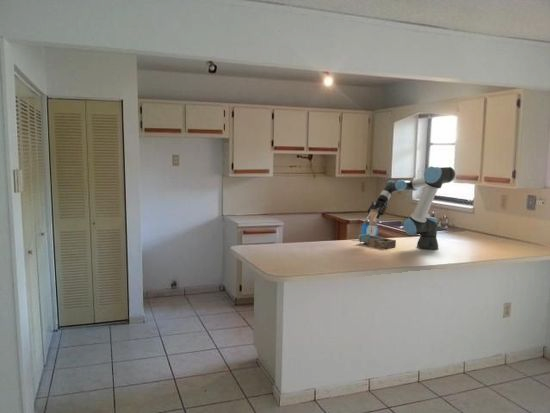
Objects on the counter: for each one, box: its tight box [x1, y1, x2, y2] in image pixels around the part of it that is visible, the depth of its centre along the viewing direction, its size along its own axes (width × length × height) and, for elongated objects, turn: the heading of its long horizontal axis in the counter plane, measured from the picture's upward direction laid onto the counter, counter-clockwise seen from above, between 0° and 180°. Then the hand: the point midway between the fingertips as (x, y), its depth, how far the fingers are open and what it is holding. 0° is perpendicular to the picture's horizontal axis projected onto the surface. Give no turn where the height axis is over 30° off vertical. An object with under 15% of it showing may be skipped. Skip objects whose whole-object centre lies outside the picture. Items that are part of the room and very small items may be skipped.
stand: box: [366, 238, 397, 250], centre depth 342 cm, size 15×14×5 cm
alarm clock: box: [360, 220, 380, 237], centre depth 375 cm, size 13×6×15 cm, turn 113°
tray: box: [358, 234, 387, 244], centre depth 347 cm, size 16×13×5 cm
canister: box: [369, 208, 379, 226], centre depth 346 cm, size 6×6×12 cm
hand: (370, 220), depth 343 cm, fingers closed on canister, 5 cm apart
